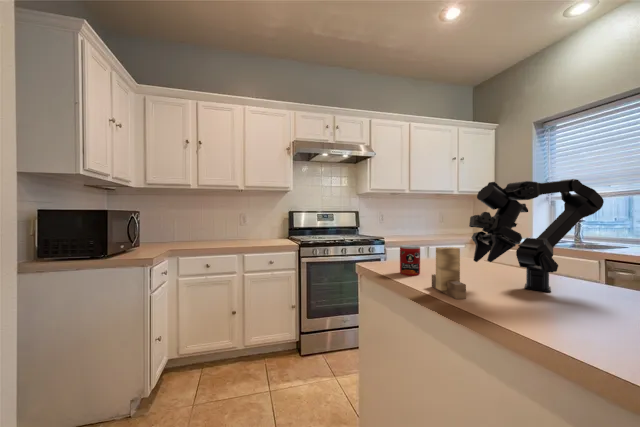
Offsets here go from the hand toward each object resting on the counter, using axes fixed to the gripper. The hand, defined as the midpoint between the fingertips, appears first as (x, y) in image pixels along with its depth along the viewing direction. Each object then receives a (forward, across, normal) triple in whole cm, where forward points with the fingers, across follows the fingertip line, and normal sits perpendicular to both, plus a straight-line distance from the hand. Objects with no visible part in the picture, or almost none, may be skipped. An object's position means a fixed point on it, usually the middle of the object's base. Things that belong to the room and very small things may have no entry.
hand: (481, 261), depth 86 cm
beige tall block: (+12, 0, -5) cm, 13 cm away
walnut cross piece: (+13, 0, -4) cm, 14 cm away
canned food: (+13, -26, -11) cm, 31 cm away
